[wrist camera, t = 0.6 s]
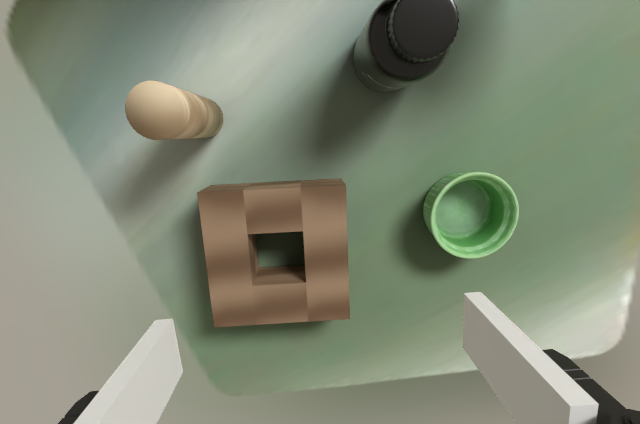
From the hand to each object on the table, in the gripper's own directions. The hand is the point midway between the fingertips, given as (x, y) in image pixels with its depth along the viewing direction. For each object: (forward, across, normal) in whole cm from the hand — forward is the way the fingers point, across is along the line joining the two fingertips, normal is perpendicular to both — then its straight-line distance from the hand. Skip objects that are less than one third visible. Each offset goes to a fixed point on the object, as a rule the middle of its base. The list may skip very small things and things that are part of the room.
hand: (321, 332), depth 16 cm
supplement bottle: (+24, +9, +15) cm, 30 cm away
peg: (+24, -10, +11) cm, 28 cm away
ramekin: (+24, +16, -1) cm, 29 cm away
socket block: (+24, -4, -3) cm, 24 cm away
